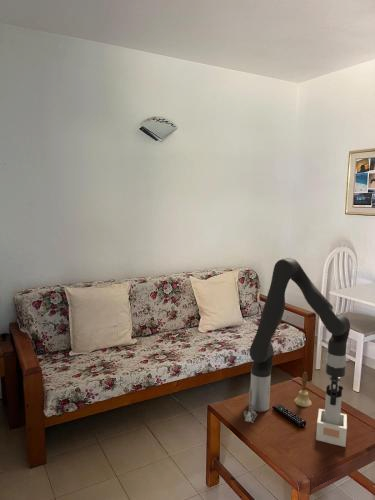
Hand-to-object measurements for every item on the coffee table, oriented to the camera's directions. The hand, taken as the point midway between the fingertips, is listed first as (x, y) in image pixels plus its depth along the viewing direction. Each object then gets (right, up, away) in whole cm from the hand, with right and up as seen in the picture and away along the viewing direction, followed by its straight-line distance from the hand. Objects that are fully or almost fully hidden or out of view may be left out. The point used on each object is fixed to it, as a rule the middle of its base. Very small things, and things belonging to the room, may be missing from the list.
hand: (333, 400), depth 160 cm
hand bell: (-4, -13, +28) cm, 31 cm away
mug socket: (0, -16, +2) cm, 16 cm away
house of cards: (-34, -14, +16) cm, 40 cm away
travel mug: (0, -14, +2) cm, 14 cm away
